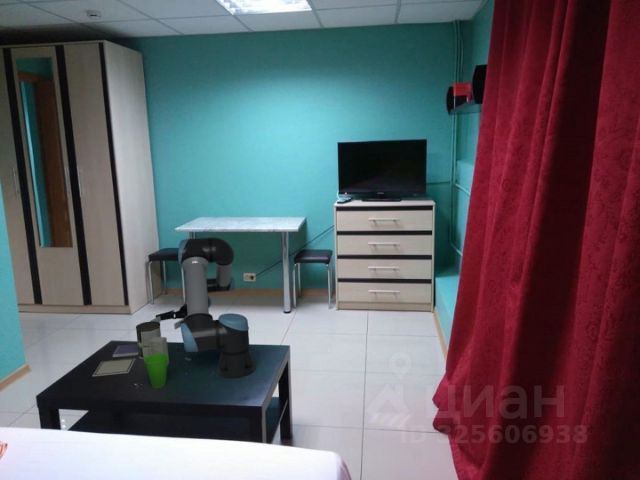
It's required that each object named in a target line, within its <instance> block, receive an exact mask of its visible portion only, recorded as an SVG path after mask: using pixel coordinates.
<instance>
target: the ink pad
mask: <svg viewBox="0 0 640 480" xmlns="http://www.w3.org/2000/svg"><path fill="white" fill-rule="evenodd" d="M137 355H138V356H139V352H138V343H133V344H124V345H123V344H122V345H118V346H117V348H116V349H115V350H114V352H113V354H112V358H116V357H117V358H119V357H128V356H137Z"/></svg>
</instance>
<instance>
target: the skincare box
mask: <svg viewBox="0 0 640 480" xmlns="http://www.w3.org/2000/svg"><path fill="white" fill-rule="evenodd" d="M149 347H150V355H153V354H167V355H168V356H169V350H168V341H167V337H166V336H164V337H163V336H161V337H153V338H152V339H150V340H149ZM169 364H170V357H169V358H168V361H167V366H168V365H169Z"/></svg>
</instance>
